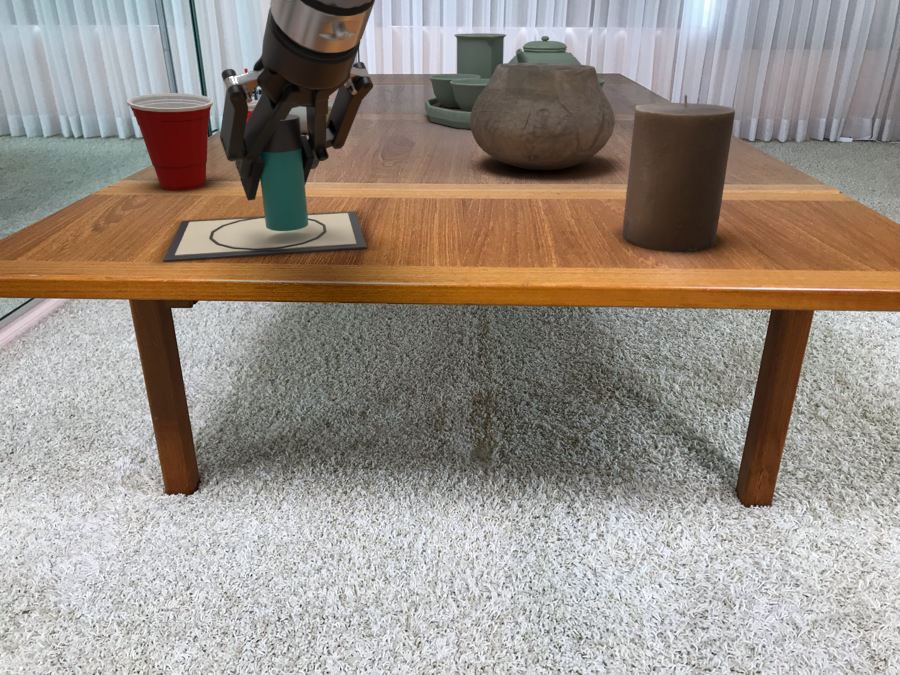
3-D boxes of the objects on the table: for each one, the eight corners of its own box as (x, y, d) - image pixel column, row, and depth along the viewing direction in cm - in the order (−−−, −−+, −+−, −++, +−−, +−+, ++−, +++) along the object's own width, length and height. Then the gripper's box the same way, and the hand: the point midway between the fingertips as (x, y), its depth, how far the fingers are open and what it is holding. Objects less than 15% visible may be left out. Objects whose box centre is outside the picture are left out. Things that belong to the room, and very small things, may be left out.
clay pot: (495, 150, 123) (497, 57, 117) (620, 159, 116) (630, 60, 110) (449, 177, 105) (449, 68, 98) (595, 189, 98) (605, 73, 92)
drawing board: (163, 264, 70) (162, 257, 70) (182, 225, 83) (181, 219, 83) (367, 251, 74) (366, 244, 74) (355, 215, 87) (355, 209, 86)
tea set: (394, 127, 146) (391, 39, 139) (465, 103, 180) (466, 31, 172) (588, 140, 132) (595, 43, 125) (625, 111, 166) (633, 33, 159)
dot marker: (264, 232, 73) (251, 121, 69) (265, 220, 77) (252, 114, 73) (310, 229, 74) (299, 119, 69) (308, 218, 78) (299, 113, 74)
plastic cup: (167, 201, 92) (150, 104, 87) (128, 188, 99) (111, 97, 94) (240, 187, 100) (229, 96, 95) (200, 175, 106) (187, 90, 101)
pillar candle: (710, 259, 71) (736, 102, 65) (612, 247, 75) (627, 97, 68) (718, 232, 80) (741, 90, 73) (629, 223, 83) (644, 87, 77)
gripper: (220, 64, 52) (198, 228, 72) (429, 54, 61) (358, 204, 80) (191, -15, 54) (177, 166, 74) (397, -15, 63) (336, 148, 82)
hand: (271, 185), depth 77 cm, fingers closed on dot marker, 5 cm apart
